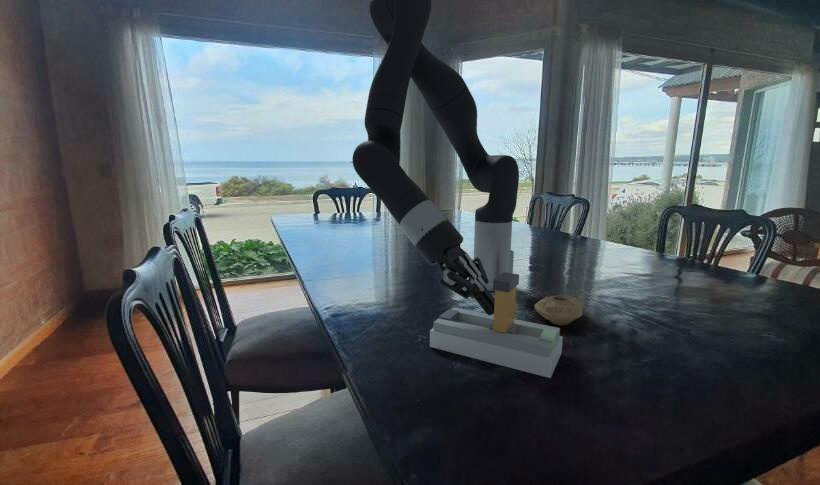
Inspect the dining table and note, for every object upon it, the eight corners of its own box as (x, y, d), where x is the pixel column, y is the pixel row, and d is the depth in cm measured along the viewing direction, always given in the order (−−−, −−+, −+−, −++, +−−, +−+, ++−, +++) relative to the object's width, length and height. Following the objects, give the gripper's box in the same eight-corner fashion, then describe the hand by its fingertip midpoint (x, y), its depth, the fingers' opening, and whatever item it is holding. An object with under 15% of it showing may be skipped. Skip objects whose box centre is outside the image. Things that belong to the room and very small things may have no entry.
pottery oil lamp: (599, 316, 80) (607, 292, 76) (559, 346, 76) (564, 323, 71) (564, 292, 86) (569, 268, 82) (525, 318, 82) (528, 295, 77)
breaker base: (429, 346, 67) (430, 320, 66) (451, 328, 75) (452, 304, 74) (550, 378, 57) (552, 347, 56) (561, 353, 65) (563, 326, 64)
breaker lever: (486, 337, 64) (489, 279, 62) (497, 326, 68) (499, 271, 66) (510, 343, 62) (514, 283, 60) (520, 330, 66) (523, 275, 64)
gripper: (426, 223, 61) (499, 311, 57) (460, 214, 72) (523, 288, 69) (398, 252, 65) (464, 337, 61) (434, 239, 76) (492, 311, 72)
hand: (495, 311), depth 65 cm, fingers closed
